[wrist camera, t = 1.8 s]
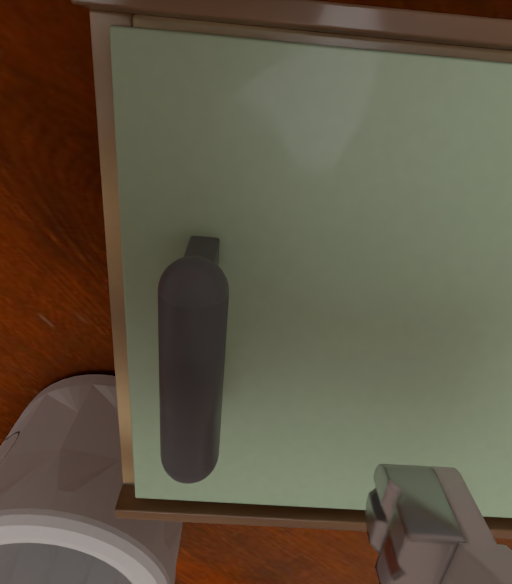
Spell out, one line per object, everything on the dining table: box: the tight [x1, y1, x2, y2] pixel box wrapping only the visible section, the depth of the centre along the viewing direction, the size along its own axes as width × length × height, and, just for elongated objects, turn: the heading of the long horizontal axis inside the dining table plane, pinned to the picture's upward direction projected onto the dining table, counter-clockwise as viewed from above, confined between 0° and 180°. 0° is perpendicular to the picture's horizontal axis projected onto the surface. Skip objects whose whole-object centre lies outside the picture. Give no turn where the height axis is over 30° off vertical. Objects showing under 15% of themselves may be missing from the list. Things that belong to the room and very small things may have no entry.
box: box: [71, 0, 512, 539], centre depth 18 cm, size 17×18×10 cm
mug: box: [0, 374, 183, 584], centre depth 25 cm, size 14×11×10 cm
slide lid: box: [109, 25, 512, 518], centre depth 13 cm, size 15×17×4 cm
